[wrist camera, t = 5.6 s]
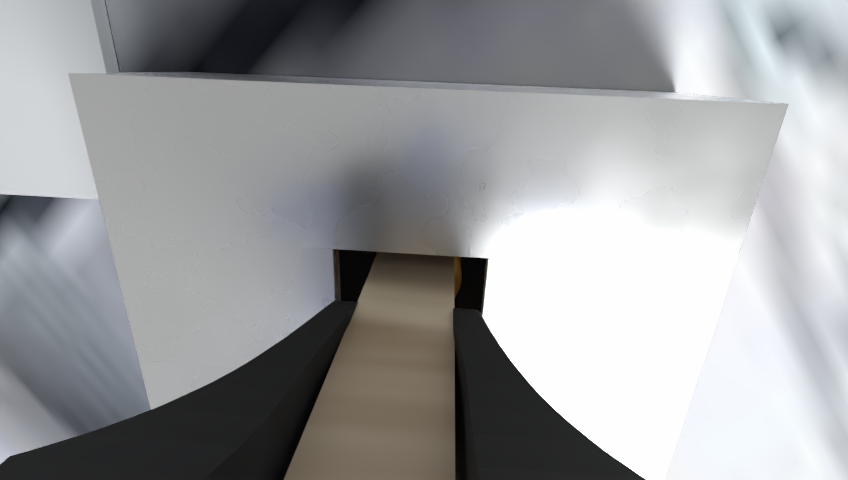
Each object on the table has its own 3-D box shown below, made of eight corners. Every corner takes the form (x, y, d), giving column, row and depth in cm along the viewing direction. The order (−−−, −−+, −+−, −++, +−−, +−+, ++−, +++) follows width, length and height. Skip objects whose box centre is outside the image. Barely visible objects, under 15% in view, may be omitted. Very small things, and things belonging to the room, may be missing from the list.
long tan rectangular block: (449, 316, 15) (444, 637, 6) (380, 311, 15) (285, 621, 7) (454, 251, 14) (455, 526, 6) (379, 246, 14) (271, 510, 6)
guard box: (605, 392, 18) (656, 501, 14) (234, 365, 19) (163, 460, 14) (676, 92, 14) (788, 103, 9) (190, 71, 15) (67, 72, 10)
